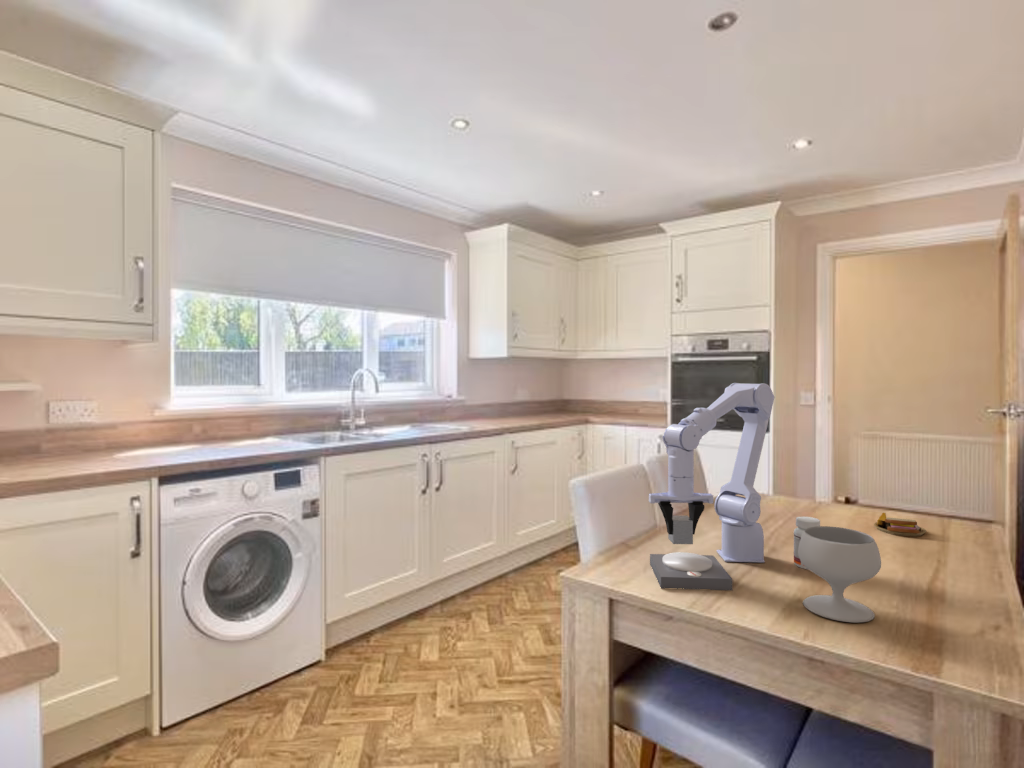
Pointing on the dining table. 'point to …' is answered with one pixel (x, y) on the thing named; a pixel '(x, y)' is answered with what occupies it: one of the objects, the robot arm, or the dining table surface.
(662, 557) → the kitchen scale
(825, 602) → the chalice
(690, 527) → the block
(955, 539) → the dining table surface
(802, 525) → the pill bottle
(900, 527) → the toy sandwich meal
